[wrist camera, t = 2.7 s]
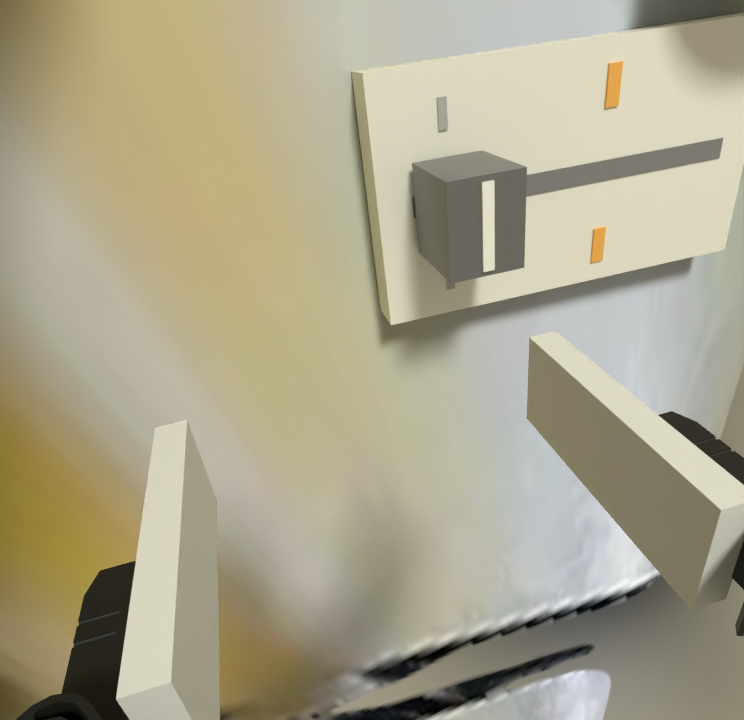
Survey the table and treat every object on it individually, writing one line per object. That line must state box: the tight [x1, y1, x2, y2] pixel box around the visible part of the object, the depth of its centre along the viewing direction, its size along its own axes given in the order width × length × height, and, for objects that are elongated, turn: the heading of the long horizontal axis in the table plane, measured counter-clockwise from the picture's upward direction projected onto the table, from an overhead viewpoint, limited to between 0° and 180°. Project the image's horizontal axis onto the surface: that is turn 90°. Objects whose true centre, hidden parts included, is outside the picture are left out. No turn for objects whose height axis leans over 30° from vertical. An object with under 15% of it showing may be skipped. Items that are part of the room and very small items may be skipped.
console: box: [352, 13, 744, 325], centre depth 33 cm, size 24×14×3 cm, turn 97°
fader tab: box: [412, 150, 527, 284], centre depth 29 cm, size 4×5×5 cm
